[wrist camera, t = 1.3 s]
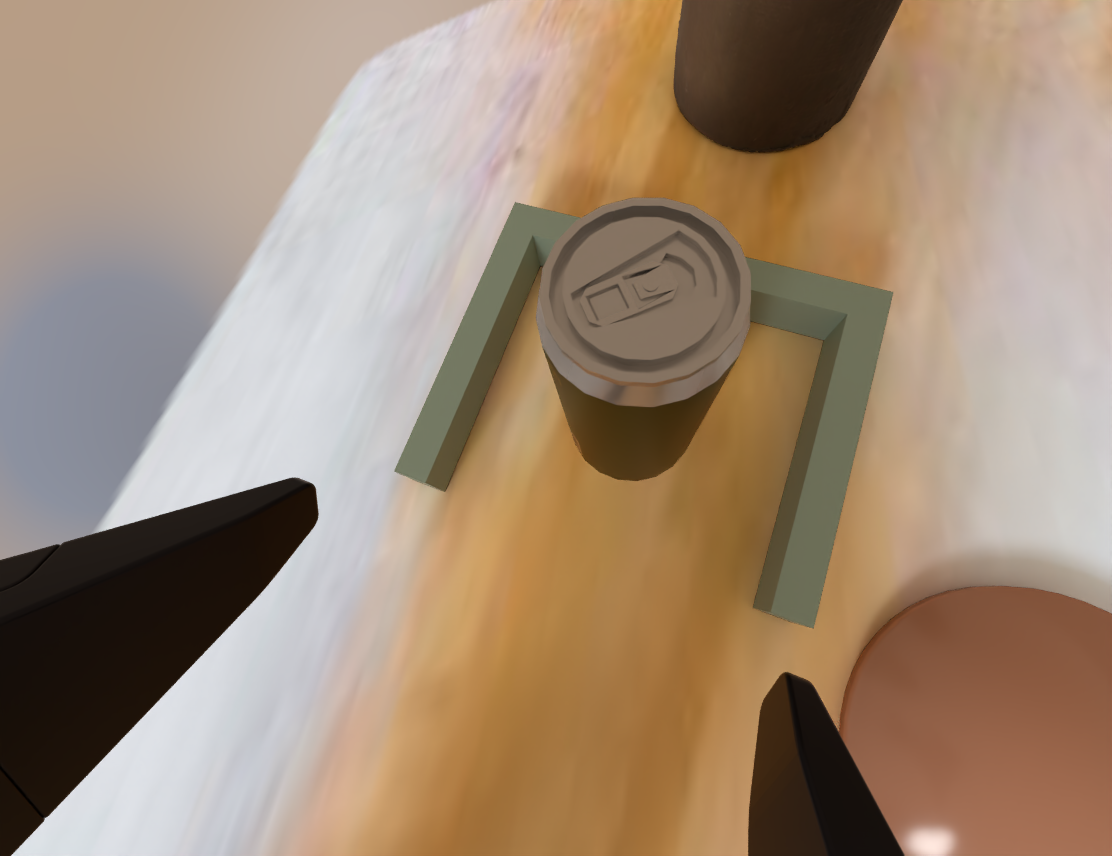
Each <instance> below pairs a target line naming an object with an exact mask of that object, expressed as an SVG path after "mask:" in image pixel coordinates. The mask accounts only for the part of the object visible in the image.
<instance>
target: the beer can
mask: <svg viewBox="0 0 1112 856" xmlns="http://www.w3.org/2000/svg"><path fill="white" fill-rule="evenodd" d="M750 304H751V272H750V269H749V267H748V264H747V261H746V259H745V256H744V254H743V251H742V248H741V246H740V244H739V243H738V242H737V241H736V240H735V238H734V237H733V236H732V235H731V234H730V233H729V231H728V230H727V229H726V228H725V227H724V226H723V224H722V223H721V222H719V221H718V220H716V219H715V218H713V217H711V216H710V215H708V214H706V213H705V212H703V211H701V210H700V209H698V208H697V207H695V206H692V205H688V204H685V203H681V202H677V201H674V200H670V199H666V198H630V199H626V200H622V201H619V202H615V203H611V204H607V205H603V206H601V207H599V208H598V209H596V210H594V211H592V212H591V213H589V214H587V215H585V216H584V217H582V218H580V219H579V220H577V221H575V222H574V223H573V224H572V225H571V227H570V228H569V229H568V230H567V231H566V232H565V233H564V234H563V235H562V236H561V237H560V238H559V239H558V240H557V241H556V242H555V244H554V246H553V248H552V250H551V252H550V254H549V256H548V258H547V260H546V262H545V264H544V266H543V268H542V276H541V284H540V289H539V297H538V305H537V314H536V320H537V325H538V329H539V334H540V338H541V342H542V347H543V350H544V353H545V356H546V359H547V362H548V365H549V368H550V371H551V374H552V377H553V380H554V383H555V386H556V389H557V392H558V394H559V397H560V400H561V403H562V406H563V409H564V412H565V415H566V418H567V421H568V424H569V427H570V430H571V433H572V436H573V439H574V442H575V445H576V446H577V448H578V450H579V451H580V453H581V454H582V456H583V458H584V459H585V460H586V461H587V462H588V463H589V464H590V465H591V466H593V467H594V468H595V469H596V470H597V471H599V472H600V473H603V474H605V475H608V476H610V477H613V478H615V479H618V480H630V481H639V480H643V479H648V478H652V477H656V476H658V475H659V474H661V473H663V472H664V471H666V470H668V469H669V468H671V467H673V465H674V464H675V463H676V462H677V461H678V459H679V458H680V457H681V456H682V455H683V454H684V452H685V451H686V449H687V447H688V445H689V444H690V442H691V440H692V438H693V436H694V435H695V433H696V431H697V429H698V427H699V426H700V424H701V422H702V420H703V419H704V417H705V415H706V413H707V411H708V410H709V408H710V406H711V404H712V403H713V401H714V399H715V397H716V395H717V394H718V392H719V390H720V388H721V386H722V385H723V383H724V381H725V379H726V378H727V376H728V374H729V372H730V370H731V369H732V367H733V365H734V363H735V362H736V360H737V358H738V356H739V354H740V351H741V349H742V346H743V343H744V341H745V338H746V335H747V333H748V330H749V327H750Z"/></svg>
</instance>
